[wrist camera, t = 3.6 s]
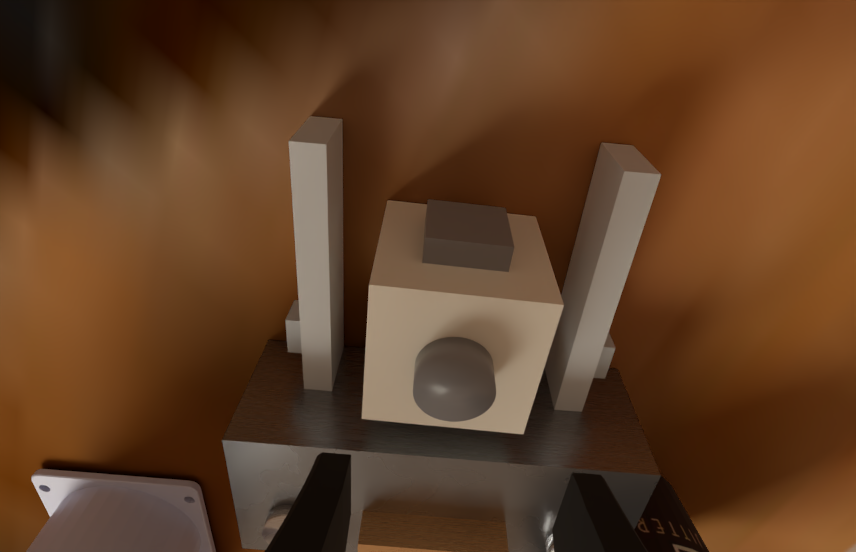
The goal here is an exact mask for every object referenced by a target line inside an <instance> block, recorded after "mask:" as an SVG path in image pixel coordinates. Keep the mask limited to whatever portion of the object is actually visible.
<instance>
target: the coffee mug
mask: <svg viewBox="0 0 856 552" xmlns="http://www.w3.org/2000/svg"><path fill="white" fill-rule="evenodd" d="M634 530H635V531H636V533H637V535H638V536H639V538H640V540H641V541H642V543H643V544H644V546H645V548H646V549H647V551H648V552H709V551H708V549H707V547H706V545H705V544H704V542H703V540H702V538H701V537H700V535H699V533H698V531H697V530H696V528H695V526H694V524H693V523H692V521H691V519H690V517H689V516H688V514H687V512H686V510H685V509H684V507H683V505H682V503H681V502H680V500H679V498H678V496H677V495H676V493H675V491H674V489H673V488H672V487H671V485H670V484H669V482H668V481H666V480H665V479H664V478H663V477H662V476H661V477H660V479H659V481H658V483H657V485H656V487H655V489H654V491H653V493H652V495H651V497H650V499H649V501H648V503H647V505H646V507H645V509H644V511H643V513H642V515H641V517H640V519H639V521H638V523H637V525H636V527H635V529H634Z"/></svg>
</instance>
